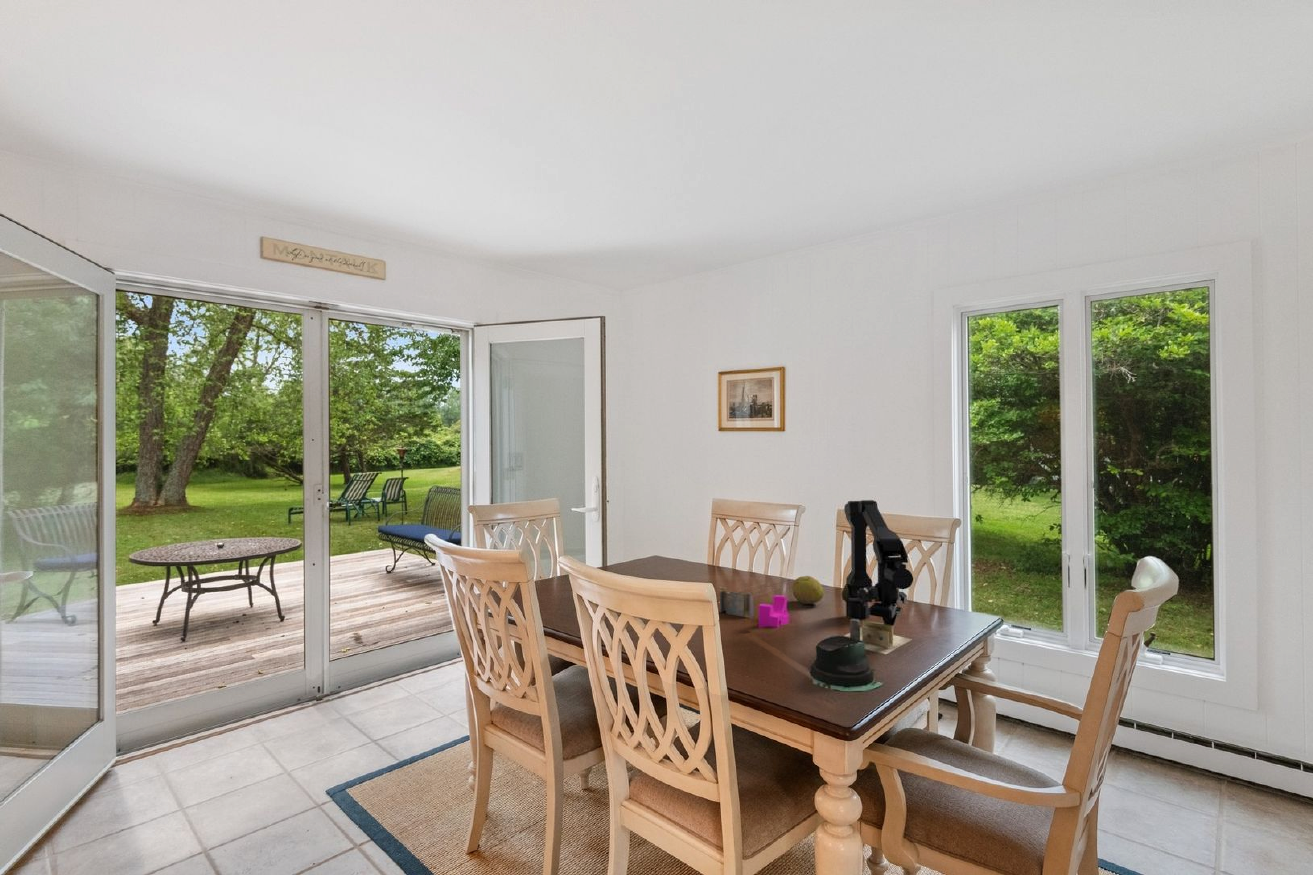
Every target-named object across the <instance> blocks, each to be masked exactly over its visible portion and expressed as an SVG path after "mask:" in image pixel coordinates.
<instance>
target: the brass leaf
mask: <svg viewBox="0 0 1313 875" xmlns="http://www.w3.org/2000/svg"><path fill="white" fill-rule="evenodd" d="M863 626H866V627H871V628H875V629H879V630H884V631H888V632H889V644H893V635H894V627H893V625H891V624H884V622H883V623H882V622H876V621H869V620H865V619H862V620H861V628H862V639H863Z"/></svg>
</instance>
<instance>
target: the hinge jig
mask: <svg viewBox="0 0 1313 875" xmlns="http://www.w3.org/2000/svg"><path fill="white" fill-rule="evenodd" d="M843 636H846V637H849V638H857V639H858V640H860V641H862V642H864V643H865V650H867V651H872V652H875V653H878V654H882V655H887V654H890V653H891V652H893V651H895V650H896V649H898V648H900V647H902V646H904V645H906V644H907V643H909V642H911V641H912V640H913V639H912V638H908V637H905V636H899V635H896V634H893V644H889V632H888V631H884V630H879V629H875V628H871V627H866V626H863V639H862V627H861V620H860V619H858V618H851V619H850V620H849V633H847V634H845V635H843Z"/></svg>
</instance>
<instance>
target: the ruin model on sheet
mask: <svg viewBox="0 0 1313 875" xmlns="http://www.w3.org/2000/svg"><path fill="white" fill-rule="evenodd" d="M719 589H720V590H721V591H720V592H719V610H720V611H719V612H720V613H719V614H722V613H724V612H723V611H726V612H725V614H726V615H730V614H731V616H737V617H738V616H739V617H744V618H752V617H754V594H751V593H743V592H737V591H736V592H735V591H730V590H728V587H726V586H725V587H722V586H719ZM721 612H722V613H721Z"/></svg>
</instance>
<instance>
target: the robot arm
mask: <svg viewBox="0 0 1313 875" xmlns="http://www.w3.org/2000/svg"><path fill="white" fill-rule="evenodd" d="M843 511H844V514H845V519H846V521H847V522H848V524H849V526H850V531H851V532H850V538H851V540H850V541H851V542H850V544H851V545H850V547H851V548H850V552H851V554H850V555H851V556H850V557H851V560H850V562H851V563H850V564H851V570H850V572H849V573H848V575H847V576H846V579H845V580H846V582H845V584H844V586H843V589H842V592H841V598H842V600H843V601H844V602H845V612H846V615H845V617H846V618H847V617H850V618H851V619H858V620H860V619H862V620H867V619H869V618H870V616H872V617H879V618H882V620H883V623H884V624H891V625H893V628H895V625H896V622H897V620H898V618H899V617H900V614H901V611H902V610H903V608H902V607H901V606H900V607H899V606H897V605H898V603H900V602H902V604H904V605H905V604H906V603H907V602H908V595H907V594H906V593H905V592H904V591H900V590H906V589H909V588H910V587H911V586H912V584H913V583H914V576H913V573H912V572H911V571H910V570H909V569H907V564H908V562H909V561H908V557H909V555H908V553H907V550H906V548H905V544H904V543H903V540H902V539H901V538H900V537H899V535H898V534H897V533H896V532H895V531H894V530H891V529H889V527H888V525H887V523H886V521H885V519H884V517H883V515H882V514H881V512H880V510H879V508H878V502H877V501H876V500H873V499H866V500H865V499H863V500H849V501H847V503H846V504H845V505H844V510H843ZM867 528H869V530H870V532H871V534H872V536H873V541H872V550H873V552H874V554H875V556H876V558H875V561H876V562H877V582H876V583H875V584H874V585H873V580H872V578H871V577H870V576H869V575H868V573H867ZM873 600H874V603H873ZM869 603H873V604H872V605H869Z"/></svg>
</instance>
